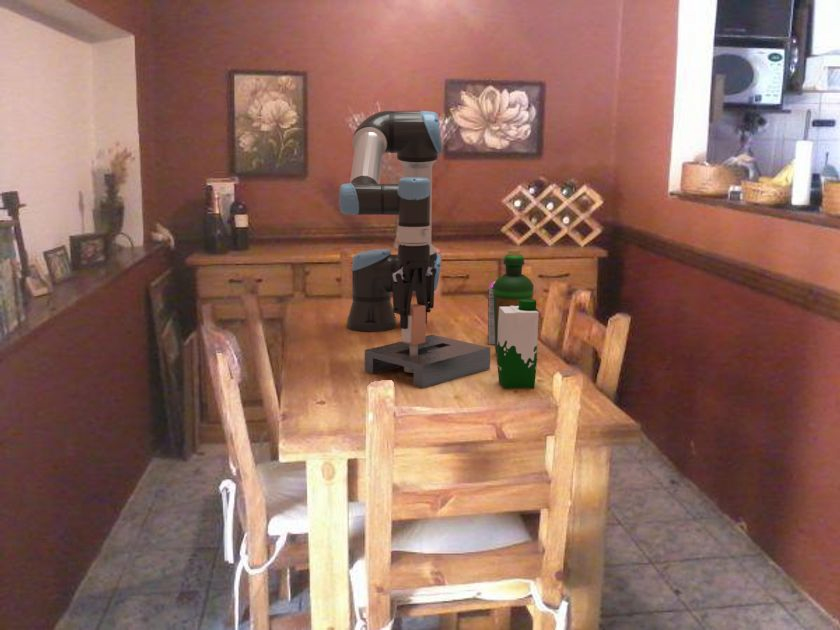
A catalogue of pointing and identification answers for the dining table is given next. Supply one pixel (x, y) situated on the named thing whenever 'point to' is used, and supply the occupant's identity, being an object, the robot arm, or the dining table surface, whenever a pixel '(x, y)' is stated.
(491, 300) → the candy bar box
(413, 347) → the keyhole peg
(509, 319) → the milk carton
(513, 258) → the bottle
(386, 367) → the keyhole bracket
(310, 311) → the dining table surface
